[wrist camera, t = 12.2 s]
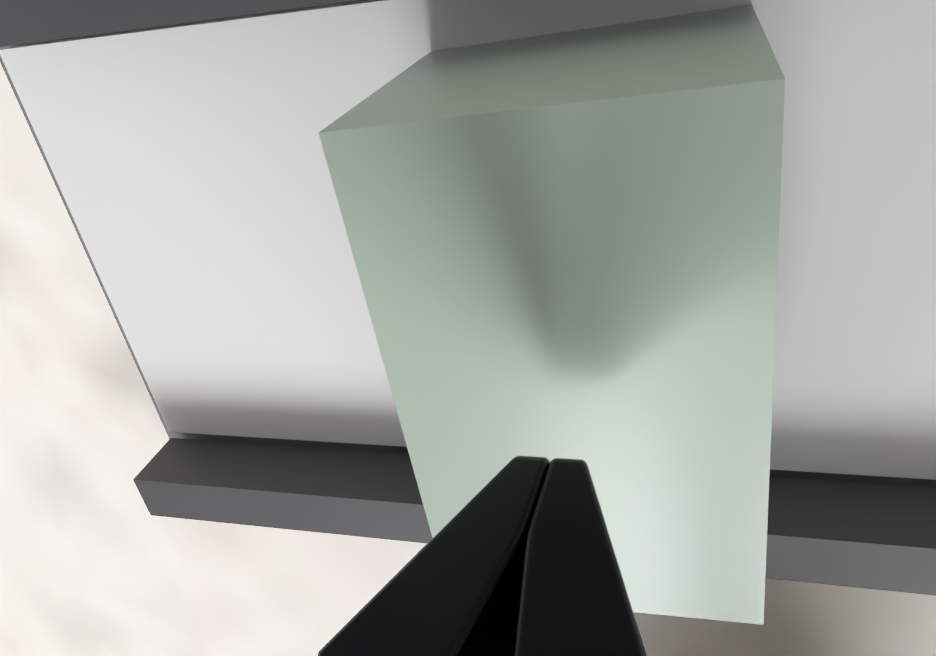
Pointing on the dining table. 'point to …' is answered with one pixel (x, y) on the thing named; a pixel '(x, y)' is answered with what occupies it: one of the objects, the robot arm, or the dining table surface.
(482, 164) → the block
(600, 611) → the robot arm
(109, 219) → the rail board
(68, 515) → the dining table surface
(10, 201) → the dining table surface
